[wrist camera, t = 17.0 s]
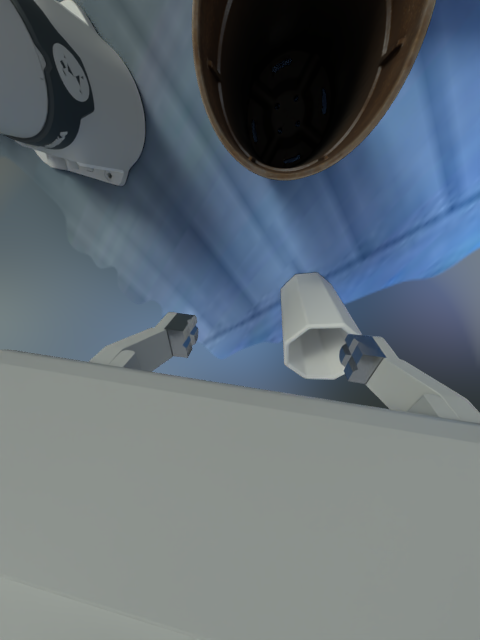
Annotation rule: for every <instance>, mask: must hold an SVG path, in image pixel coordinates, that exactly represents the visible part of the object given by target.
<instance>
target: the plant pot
mask: <svg viewBox="0 0 480 640" xmlns="http://www.w3.org/2000/svg"><path fill="white" fill-rule="evenodd" d="M435 2H436V0H193V6H192V43H193V56H194V64H195V71H196V76H197V81H198V86H199V90H200V94H201V98H202V101H203V104H204V107H205V110H206V113H207V115H208V118H209V120H210V122H211V125H212V127H213V129H214V131H215V132H216V134H217V136H218V138H219V139H220V141H221V142H222V144H223V145H224V147H225V148H226V149H227V151H228V152H229V153H230V154H231V155H232V156H233V157H234V158H235V159H236V160H237V161H238V162H239V163H240V164H241V165H242V166H244V167H245V168H247V169H248V170H250V171H251V172H253V173H255V174H257V175H260V176H262V177H265V178H269V179H274V180H295V179H300V178H304V177H307V176H311V175H314V174H316V173H319V172H321V171H323V170H325V169H327V168H329V167H330V166H332V165H334V164H335V163H337V162H338V161H340V160H341V159H343V158H344V157H345V156H346V155H348V154H349V153H350V152H351V151H352V150H354V149H355V148H356V147H357V146H358V145H359V144H360V143H361V142H362V141H363V140H364V139H365V138H366V137H367V136H368V135H369V134H370V132H371V131H372V130H373V129H374V128H375V127H376V125H377V124H378V123H379V121H380V120H381V119H382V117H383V116H384V115H385V113H386V112H387V110H388V109H389V108H390V106H391V104H392V103H393V101H394V100H395V98H396V96H397V95H398V93H399V91H400V89H401V88H402V86H403V84H404V82H405V80H406V78H407V76H408V74H409V73H410V71H411V69H412V66H413V64H414V62H415V60H416V58H417V55H418V53H419V50H420V48H421V45H422V43H423V40H424V38H425V35H426V32H427V29H428V26H429V23H430V20H431V17H432V13H433V10H434V7H435ZM286 59H293V60H292V62H291V63H290V65H288V66H285V67H283V68H281V69H279V70H278V71H277V72H276V73H274V72H272V68H273V67H274V66H275V65H276V64H278V63H280V62H282V61H284V60H286ZM323 87H324V89H325V90H326V98H327V109H326V113H325V114H323V113H322V108H323V106H322V88H323ZM295 95H298V97H299V98H298V101H296V102H295V101H294V97H295ZM277 103H279V104H280V107H279V109H278V110H276V109H275V105H276V104H277ZM252 119H254V122H255V126H256V133H257V137H258V142H255V141H254V138H253V133H252ZM298 120H299V121H300V125H299V127H296V125H295V124H296V122H297V121H298ZM280 127H281V128H282V133H281V134H278V129H279V128H280ZM298 154H300V158H299V159H298V160H295V161H294V162H291V163H284V162H283V161H284V160H286V159H289V158H292V157H294V156H296V155H298Z"/></svg>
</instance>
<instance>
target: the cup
mask: <svg viewBox="0 0 480 640" xmlns="http://www.w3.org/2000/svg"><path fill="white" fill-rule="evenodd" d="M281 310H282V330H283V349H284V364H285V365H286V366H287V367H288V368H290V369H292V370H293V371H294V372H296V373H297V374H299V375H300V376H302V377H303V378H306V379H336V378H338V377H340V376H342V375H344V374H345V373H344V369H345V367H344V366H343V365H342V364H341V362H340V359H339V352H340V349H341V347H342V346H343V345H345V344H346V342H345V338H346V336H347V335H348V334H355V335H362V334H361V332H360V330H359V329H358V327H357V325H356V324H355V322H354V321H353V319H352V318H351V316H350V314H349V313H348V311H347V309H346V308H345V306H344V304H343V303H342V301H341V300H340V298H339V296H338V295H337V293H336V291H335V290H334V288H333V287H332V285H331V284H330V283H329V282H328V281H326V280H325V279H324V278H323V277H322V276H321V275H320V274H319V273H307V274H296V275H294V276H293V277H292V278H291V279H290V280H289V281H288V282H287V283H286V284H285V285H284V286H283V287H282V288H281Z"/></svg>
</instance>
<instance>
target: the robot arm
mask: <svg viewBox="0 0 480 640" xmlns="http://www.w3.org/2000/svg"><path fill="white" fill-rule="evenodd" d="M0 134H4V135H6V136H7V137H9V138H11V139H13V140H15V141H16V142H17V143H18V144H20V145H21V146H24V147H27V148H31V149H34V151H35V152H36V153H37V155H38V156H39V157H40V158H41V159H42V161H43V162H45V163H46V164H49V165H50V167H53V168H57V169H63V170H68V171H71V172H75V173H78V174H81V175H84V176H88V177H91V178H94V179H98V180H101V181H104V182H107V183H111V184H114V185H118V186H123V185H124V184H125V182H126V179H127V176H128V171H129V169H130V168H131V167H132V166H133V164H134V163H135V162H136V161H137V160H138V158H139V156H140V154H141V152H142V149H143V145H144V140H145V117H144V111H143V106H142V102H141V98H140V95H139V92H138V89H137V87H136V84H135V82H134V80H133V78H132V76H131V74H130V72H129V70H128V68H127V67H126V65H125V64H124V62H123V61H122V59H121V58H120V57H119V56H118V54H117V53H116V52H115V51H114V50H113V49H112V48H111V47H110V46H109V45H108V44H107V43H106V42H105V41H104V40H103V39H102V38H101V37H100V36H99V35H98V34H97V32H96V30H95V29H94V27H93V25H92V23H91V22H90V20H89V18H88V17H87V15H86V14H85V12H84V11H83V9H82V8H81V7H80V6H79V5H78V4H76V3H75V2H74V1H72V0H64V1H62V2H60V3H59V2H58V1H56V0H0ZM110 173H111V175H112V178H111V176H110ZM196 323H197V318H196V316H195V315H189V314H182V313H174V312H168V313H167V314H166V315H165V317H164V318H163V319H162V320H161V321H160V322H159V323H158V324H157V325H156V326H155V328H149V329H147V330H145V331H142V332H140V333H137V334H135V335H132V336H130V337H127V338H125V339H122V340H120V341H117V342H115V343H113V344H110V345H108V346H106V347H104V348H103V349H102V350H101V351H100V352H99V353H98V354H97V355H96V356H95V357H93V358H92V359H91V360H90V361H89V362H85V361H79V360H73V359H66V358H60V357H53V356H47V355H41V354H34V353H28V352H22V351H16V350H0V640H480V413H479V412H478V411H477V410H476V408H474V406H473V405H472V404H471V403H470V402H469V401H468V400H467V399H466V398H464V397H462V396H461V395H459V394H458V393H456V392H454V391H453V390H451V389H449V388H448V387H446V386H445V385H443V384H441V383H440V382H438V381H436V380H435V379H433V378H432V377H430V376H428V375H427V374H425V373H423V372H422V371H420V370H418V369H417V368H415V367H414V366H412V365H410V364H408V363H407V362H405V361H404V360H400V359H399V358H398V357H397V355H396V354H395V353H394V352H393V350H392V349H391V348H390V346H389V345H388V344H387V342H386V341H385V340H384V339H383V338H382V337H376V336H365V335H355V334H348V335H347V336H346V338H345V342H346V344H345V345H343V346H342V347H341V349H340V352H339V359H340V362H341V364H342V365H343V366H344V367H345V369H344V373H345V375H346V378H347V380H348V381H351V382H357V383H363V384H366V386H367V387H368V388H369V389H370V390H372V391H373V393H374V394H375V395H376V396H377V397H378V398H380V399H381V401H383V403H384V404H385V405H386V406H387V407H388V408H389V409H384V408H378V407H371V406H365V405H359V404H352V403H346V402H340V401H333V400H327V399H320V398H314V397H308V396H301V395H294V394H289V393H282V392H275V391H269V390H263V389H257V388H251V387H244V386H238V385H232V384H225V383H219V382H212V381H206V380H199V379H193V378H186V377H180V376H174V375H167V374H162V373H155V372H152V371H153V370H154V369H156V368H157V367H159V366H160V365H161V364H163V363H164V362H166V361H167V360H169V359H170V358H171V357H173V356H177V357H186V358H188V356H189V354H190V352H191V350H192V345H194V344H195V343H196V341H197V338H198V328H197V327H196Z"/></svg>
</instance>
